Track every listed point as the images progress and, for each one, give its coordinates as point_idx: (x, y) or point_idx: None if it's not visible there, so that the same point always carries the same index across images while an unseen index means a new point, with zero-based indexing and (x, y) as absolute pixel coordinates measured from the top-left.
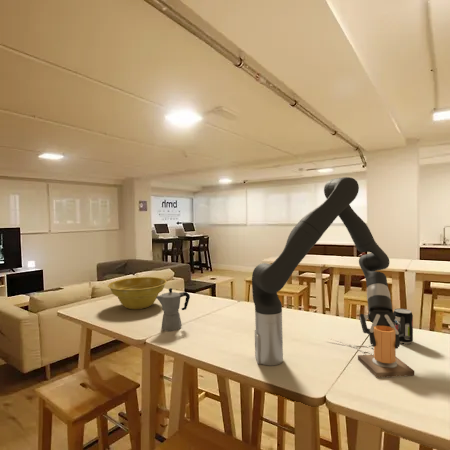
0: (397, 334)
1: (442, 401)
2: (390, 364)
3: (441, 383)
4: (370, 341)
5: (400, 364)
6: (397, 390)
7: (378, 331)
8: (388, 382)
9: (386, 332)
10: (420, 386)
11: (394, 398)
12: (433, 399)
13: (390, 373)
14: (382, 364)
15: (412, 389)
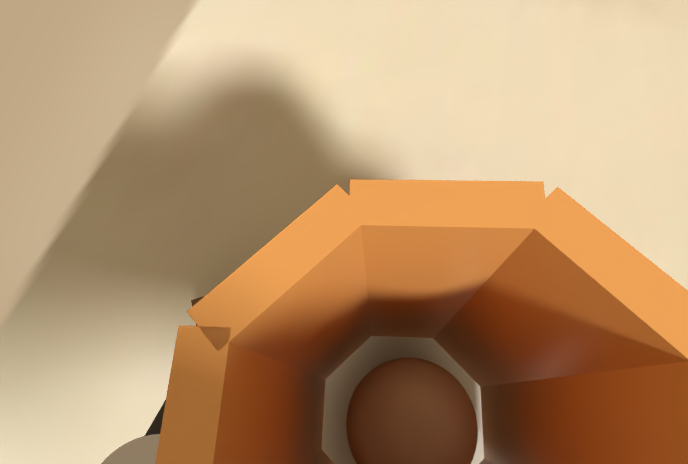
0: (153, 435)
1: (178, 53)
2: (357, 363)
3: (76, 236)
4: None
5: None
6: (377, 97)
7: (615, 259)
8: (412, 174)
9: (430, 191)
10: (226, 170)
11: (411, 23)
12: (214, 59)
13: None
14: (429, 346)
15: (287, 127)
